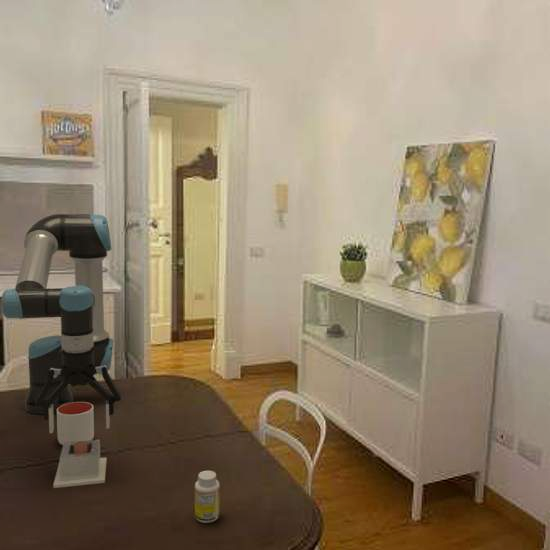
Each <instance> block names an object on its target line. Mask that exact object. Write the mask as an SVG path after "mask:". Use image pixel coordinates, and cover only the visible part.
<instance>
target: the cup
mask: <svg viewBox="0 0 550 550" xmlns="http://www.w3.org/2000/svg"><path fill="white" fill-rule="evenodd" d="M94 417H95V415H94V405H93V404H92V403H90V402H86V401H75V402H74V401H73V402H72V403H68V404H64V405H62V406H60V407H59V408H58V409H57V413H56V426H57V429H56V430H57V442H58V443H59V444H60V445H62V446H63V444H64V442H76V441H88V440H94V437H95V419H94Z"/></svg>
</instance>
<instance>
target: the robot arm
mask: <svg viewBox="0 0 550 550" xmlns="http://www.w3.org/2000/svg"><path fill="white" fill-rule="evenodd" d="M111 242H112V241H111V234H110V227H109V222H108V219H107V217H106V216H104V215H101V214H92V213H85V214H79V213H77V214H75V213H74V214H72V213H70V214H67V213H66V214H63V213H55V214H52V215H48V216H45V217H43V218H41V219H39V220H38V221H37V222H35V223H34V224H33V225H32V226H31V227H30V228H29V230H28V231H27V232H26V233H25V237H24V240H23V245H24V249H25V250H24V255H23V258H22V262H21V265H20V268H19V273H18V276H17V280H16V283H15V288H10V289H6V290H3V292H2V294H1V311H2V315H3V316H4V317H5V318H6V319H20V320H22V319H39V318H40V319H41V318H43V319H44V318H60V327H61V328H60V329H61V330H60V333H61V334H60V335H59V334H58V335H48V336H46V337H45V336H44V337H41V338H39V339H36V340H34V341H32V342H31V343H30V344H29V345H28V355H27V358H28V370H29V371H28V373H29V374H28V376H29V387H28V391H27V394H26V397H25V401H24V410H25V411H26V412H27V413H30V414H33V415H43V417H44V418H43V419H44V420H45V421H48V432H49V434H53V433H54V429H55V418H54V415H55V414H57V409H58V408H59V407H60V406H62V405H64V404H68V403H72V402H74V395H73V393H72V390H71V388H70V386H72V387H76V386H86V385H89V386H90V387H92V388H93V389H94V390H95V391H96V392H97V393H98V394H99V395H100V396H101V397H102V398H103V399H104V400H106V401H105V423H106V424H105V428H106V429H110V427H111V426H110V424H111V423H110V417H111V416H113V415H114V413H115V403H116V402H119V401H121V398H122V394H121V392H120V390H119V389H118V387H117V385H116V383H115V382H114V380H113V379H112V377H111V375H110V373H109V371H110V370H111V367H112V366H111V365H112V356H113V349H114V339H113V338H111V337H109V336H110V335H109V332H108V331H106V330H105V322H104V321H105V320H104V319H105V315H104V283H103V282H104V280H103V279H104V277H103V274H104V273H103V261H104V260H105V259H106V258H107V257H108V252H110V251H112V244H111ZM58 251H64V252H69V253H68V254H69V258H70V259H71V260H73V262H74V277H75V279H74V280H75V281H74V283H75V284H74V286H73V285H72V286H71V285H70V286H67V287H64V288H63V287H60V288H58V287H57V288H47V287H48V282H49V276H50V271H51V265H52V261H53V255H55V254H56V253H57V252H58ZM98 374H99V375H100V376H102V378H103V380H104V382H105V384H106V386H107V387H108V388H109V391H110V392H111V393H110V392H109V391H108V390H107V389H106V388H105V387H104V386H103V385H102V384H101V383H100V382H99V381H98V380H97V378H96V377H95V375H98Z"/></svg>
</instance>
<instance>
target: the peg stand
mask: <svg viewBox="0 0 550 550" xmlns="http://www.w3.org/2000/svg"><path fill="white" fill-rule="evenodd" d="M80 453H87V442H83V441H81V442H77V443H75V444H74V454H80ZM106 472H107V457H100V468H99V477H98V478H88V479H78V480H68V481H60V461H59V463H58V465H57V470H56V473H55V478H54V481H53V489H57V488H67V487H68V488H69V487H76V486H77V487H78V486H79V487H80V486H85V485H87V486H88V485H95V484H105V482H106Z"/></svg>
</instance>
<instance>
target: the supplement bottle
mask: <svg viewBox="0 0 550 550" xmlns="http://www.w3.org/2000/svg"><path fill="white" fill-rule="evenodd" d="M220 486H221V485H220V482H219V480H218V479H217V473H216V472H215V471H214V470H204V471H201V472H199V473H198V477H197V481H196V482H195V483H194V517H195V519H196V521H198V522H200V523H203V524H204V523H205V524H206V523H212V522H214V521H216V520H218V519H219V517H220V500H221V499H220V498H221V497H220V492H221V491H220Z"/></svg>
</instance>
